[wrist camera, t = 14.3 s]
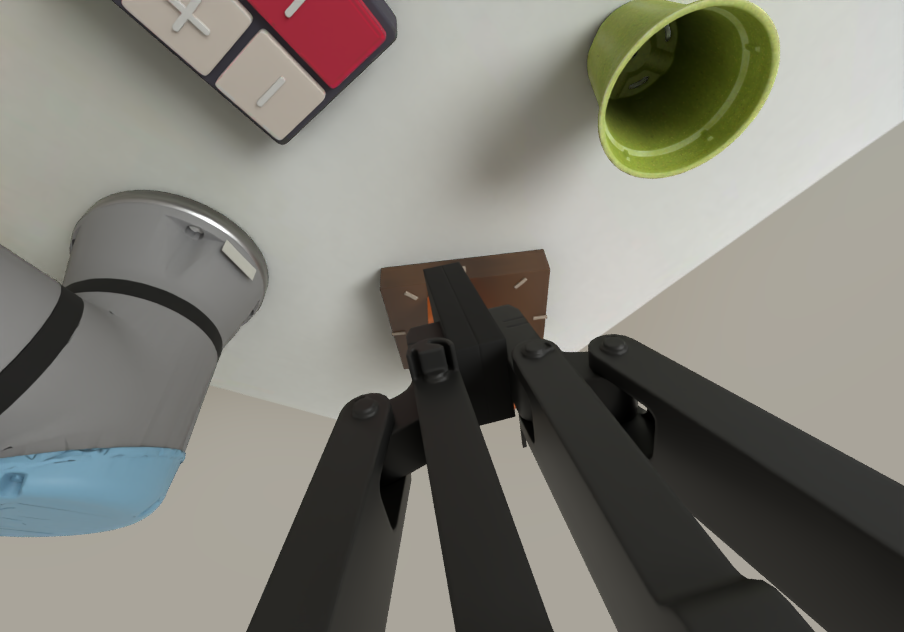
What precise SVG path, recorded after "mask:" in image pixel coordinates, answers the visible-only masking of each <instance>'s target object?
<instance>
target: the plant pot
mask: <svg viewBox="0 0 904 632" xmlns="http://www.w3.org/2000/svg"><path fill="white" fill-rule="evenodd" d="M668 24H669V26H670V30H671V37H670V39H669V41H667V42H666V39H665V34H666V32H665V28H664V27H665V26H666V25H668ZM636 51H637V54H636V56H635V57H632V56H633V55H634V54H635V53H636ZM779 62H780V42H779V36H778V33H777V30H776V27H775V25H774V23H773V21H772V20H771V18H770V17H769V16H768V14H767V13H765V12H764V10H762V9H761V8H760V7H758V6H757V5H755V4H753V3H751V2H749V1H746V0H699V1H696V2H693V3H690V4H687V5H686V4H680V3H675V2H671V1H666V0H633V1H631V2H628V3H626V4H624V5H622V6H621V7H619V8H618V9H616V10H615V11H614V12H613V13H612V14H610V15H609V16H608V17H607V18H606V20H605V21H604V22H603V23H602V25H601V26H600V28H599V30H598V32H597V34H596V36H595V38H594V40H593V43H592V45H591V47H590V50H589V52H588V58H587V72H588V76H589V79H590V82H591V85H592V88H593V91H594V93H595V96H596V99H597V102H598V105H599V114H598V132H599V138H600V142H601V145H602V147H603V150H604V152H605V154H606V155H607V157H608V158H609V160H610V161H611V162H612V163H613V164H614V165H615V166H616V167H617V168H618V169H620V170H621V171H623V172H625V173H627V174H629V175H632V176H635V177H639V178H650V179H656V178H665V177H670V176H674V175H677V174H681V173H684V172H686V171H688V170H691V169H693V168H695V167H697V166H699V165H701V164H703V163H705V162H707V161H708V160H710V159H712V158H713V157H715V156H716V155H718V154H719V153H720V152H722V151H723V150H724V149H725V148H726V147H728V146H729V145H730V144H731V143H732V142H734V140H735V139H737V138H738V137H739V136H740V135H741V134H742V133H743V132H744V130H745V129H746V128H747V127H748V126H749V124H750V123H751V122H752V121H753V120H754V119H755V117H756V116H757V114H758V113H759V111H760V110H761V108H762V107H763V105H764V103H765V101H766V100H767V98H768V96H769V93H770V91H771V89H772V87H773V84H774V81H775V78H776V75H777V72H778V67H779ZM646 76H648V79H647V81H646V82H645V83H643V84H642V85H640V86H638V87H636V88H632V89H630V88H629V86H630V85H631V84H633V83H635V82H638V81H640V80H641V79H643V78H644V77H646Z"/></svg>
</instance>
